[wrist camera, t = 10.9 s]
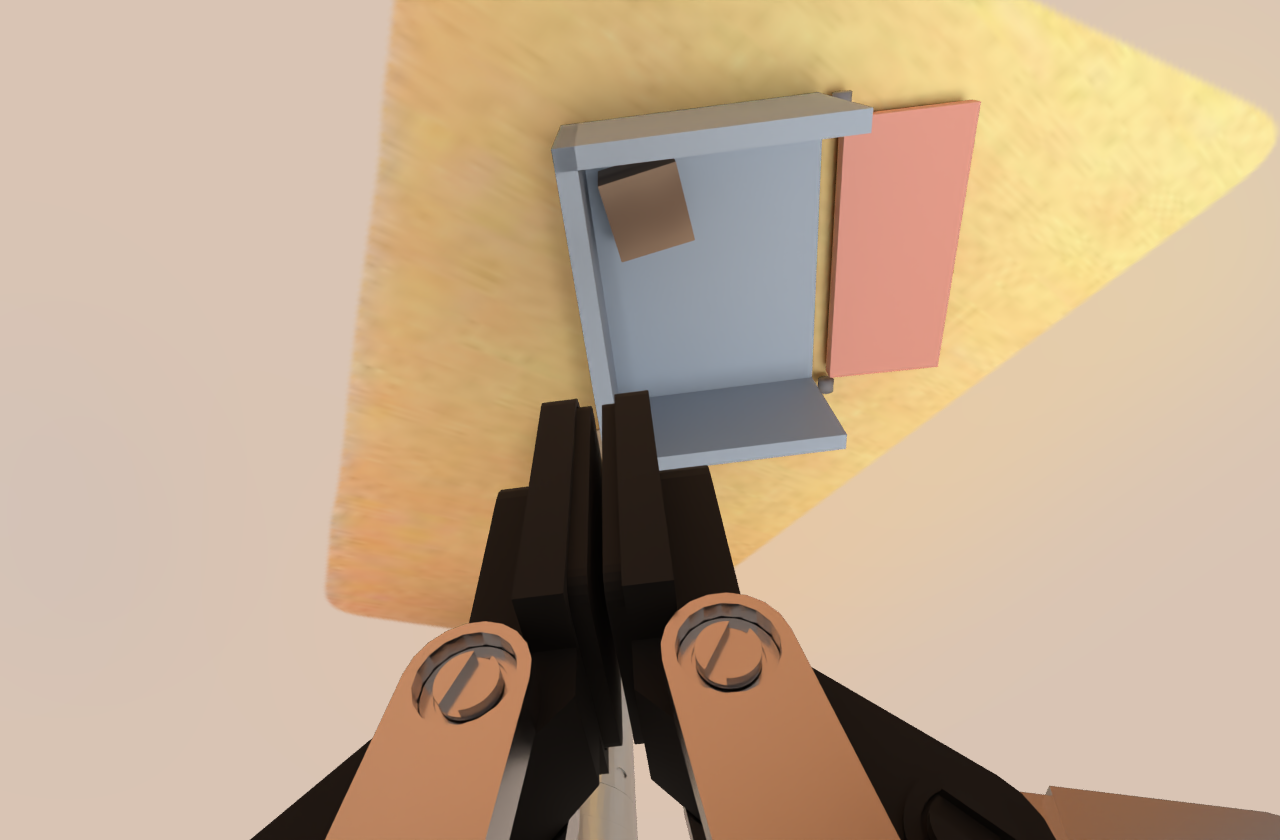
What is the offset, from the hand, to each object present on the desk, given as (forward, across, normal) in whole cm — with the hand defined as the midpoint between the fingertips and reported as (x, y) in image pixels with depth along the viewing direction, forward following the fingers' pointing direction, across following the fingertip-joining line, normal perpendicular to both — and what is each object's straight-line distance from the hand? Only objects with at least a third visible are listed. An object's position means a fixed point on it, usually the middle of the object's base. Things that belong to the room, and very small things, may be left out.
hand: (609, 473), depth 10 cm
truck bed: (+29, -5, +7) cm, 30 cm away
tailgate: (+28, -13, +7) cm, 32 cm away
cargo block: (+29, -2, +2) cm, 29 cm away
